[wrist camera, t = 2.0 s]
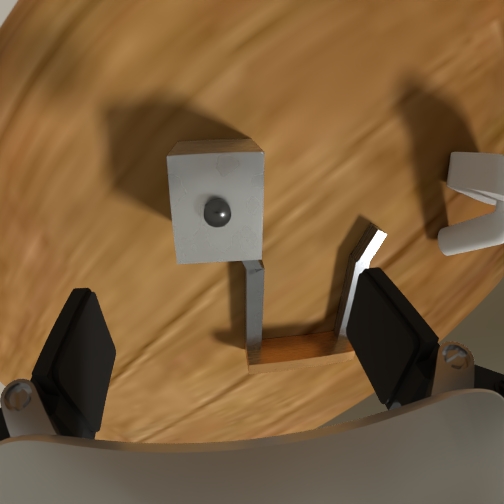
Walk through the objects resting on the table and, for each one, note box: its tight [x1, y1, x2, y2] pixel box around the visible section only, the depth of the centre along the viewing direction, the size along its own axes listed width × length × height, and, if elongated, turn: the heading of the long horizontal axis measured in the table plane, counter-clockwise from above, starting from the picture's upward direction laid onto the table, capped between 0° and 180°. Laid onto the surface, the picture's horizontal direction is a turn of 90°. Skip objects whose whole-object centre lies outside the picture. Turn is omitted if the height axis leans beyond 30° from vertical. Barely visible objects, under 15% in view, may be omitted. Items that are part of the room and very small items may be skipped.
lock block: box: [167, 139, 264, 264], centre depth 20 cm, size 7×6×7 cm
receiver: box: [242, 223, 387, 374], centre depth 28 cm, size 15×14×4 cm
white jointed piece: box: [438, 152, 504, 255], centre depth 23 cm, size 8×10×10 cm
